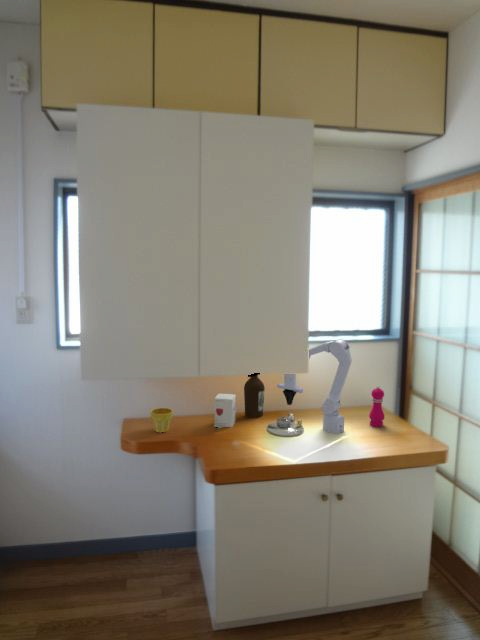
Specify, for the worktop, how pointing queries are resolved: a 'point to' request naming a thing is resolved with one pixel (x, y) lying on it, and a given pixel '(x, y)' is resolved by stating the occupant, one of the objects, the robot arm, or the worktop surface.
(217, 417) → the supplement box
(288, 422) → the cover
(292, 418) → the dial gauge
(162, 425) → the plant pot
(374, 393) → the pepper mill
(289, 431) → the turntable
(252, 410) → the olive oil
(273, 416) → the worktop surface
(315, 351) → the robot arm
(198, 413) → the worktop surface
